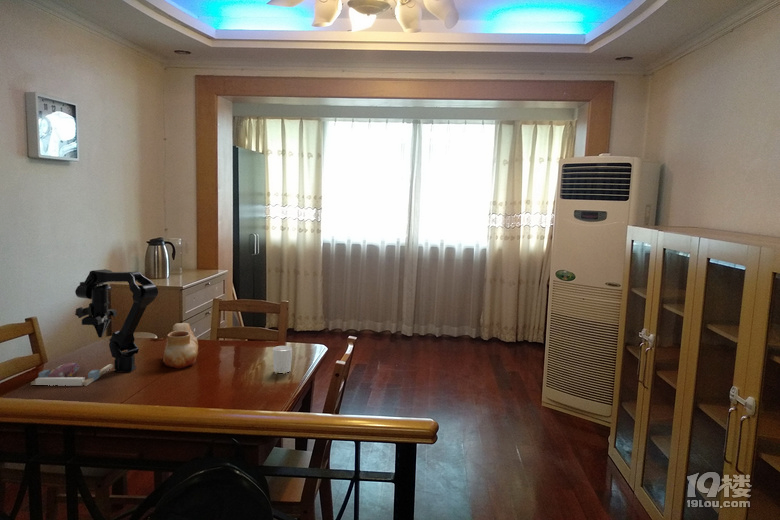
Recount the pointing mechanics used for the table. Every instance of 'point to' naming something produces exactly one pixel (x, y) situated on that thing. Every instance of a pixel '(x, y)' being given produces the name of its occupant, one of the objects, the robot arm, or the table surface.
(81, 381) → the guide channel
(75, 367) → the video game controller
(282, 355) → the white cup
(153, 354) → the table surface
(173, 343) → the ceramic vessel
